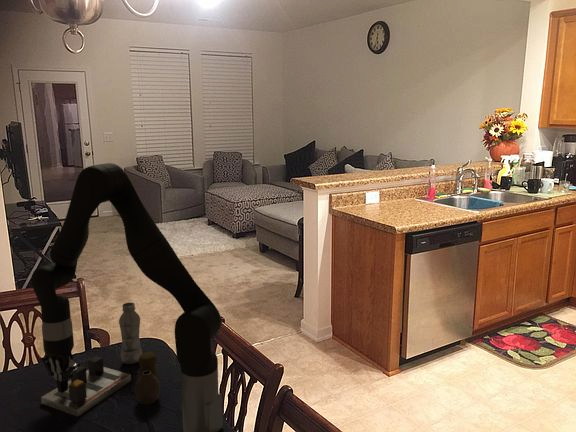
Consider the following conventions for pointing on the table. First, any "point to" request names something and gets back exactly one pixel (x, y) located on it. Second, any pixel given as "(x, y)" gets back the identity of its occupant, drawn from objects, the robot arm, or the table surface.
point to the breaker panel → (88, 387)
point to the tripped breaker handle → (77, 391)
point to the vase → (147, 388)
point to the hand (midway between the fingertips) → (62, 390)
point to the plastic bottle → (130, 334)
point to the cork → (148, 363)
